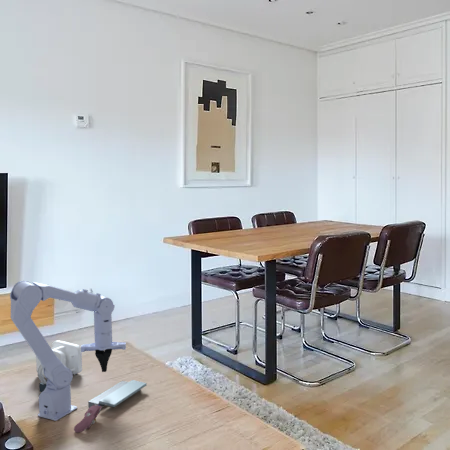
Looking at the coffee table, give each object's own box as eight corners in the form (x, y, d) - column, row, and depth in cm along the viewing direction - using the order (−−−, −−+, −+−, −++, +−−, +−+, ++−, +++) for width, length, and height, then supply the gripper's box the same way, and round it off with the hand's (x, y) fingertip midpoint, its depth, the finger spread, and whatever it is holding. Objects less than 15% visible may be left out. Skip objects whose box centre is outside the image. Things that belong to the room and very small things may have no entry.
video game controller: (85, 439, 143) (95, 418, 142) (71, 431, 143) (81, 411, 142) (97, 422, 153) (106, 403, 152) (84, 415, 153) (93, 396, 152)
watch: (64, 389, 173) (63, 359, 172) (44, 397, 167) (43, 366, 166) (54, 385, 176) (53, 355, 175) (34, 393, 170) (33, 362, 169)
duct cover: (114, 407, 155) (114, 404, 155) (98, 403, 157) (98, 400, 157) (146, 385, 171) (146, 383, 171) (132, 381, 173) (132, 379, 173)
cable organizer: (34, 375, 185) (33, 346, 184) (57, 366, 194) (56, 338, 193) (61, 384, 178) (60, 353, 176) (84, 374, 187) (83, 344, 185)
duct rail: (107, 412, 156) (107, 405, 156) (88, 407, 159) (88, 400, 159) (140, 390, 172) (140, 383, 172) (122, 386, 175) (122, 380, 175)
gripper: (79, 336, 159) (80, 376, 160) (124, 334, 161) (125, 374, 162) (82, 329, 166) (83, 368, 167) (125, 327, 168) (126, 366, 169)
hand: (104, 370), depth 165 cm, fingers closed
